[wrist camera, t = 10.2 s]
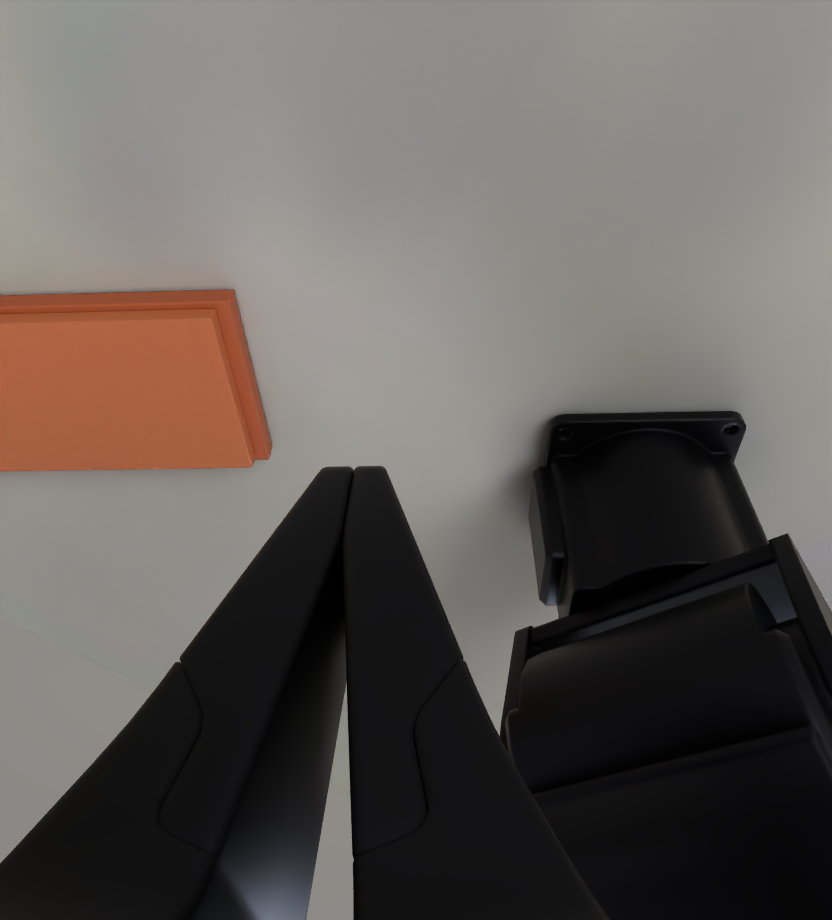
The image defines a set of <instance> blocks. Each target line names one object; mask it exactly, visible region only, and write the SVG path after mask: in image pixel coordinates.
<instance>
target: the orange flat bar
mask: <svg viewBox="0 0 832 920" xmlns="http://www.w3.org/2000/svg"><path fill="white" fill-rule="evenodd" d="M271 449H272V444H271V440H270V436H269V432H268V428H267V423H266V419H265V415H264V411H263V407H262V403H261V399H260V395H259V391H258V387H257V382H256V378H255V374H254V370H253V366H252V362H251V358H250V354H249V350H248V346H247V342H246V337H245V333H244V329H243V325H242V321H241V317H240V313H239V309H238V305H237V301H236V297H235V292H234V290H201V291H163V292H124V293H86V294H47V295H8V296H0V471H54V470H119V469H183V468H247V467H252V466H253V462H254V460H268V459H269V458H270V454H271Z"/></svg>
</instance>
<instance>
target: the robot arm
mask: <svg viewBox="0 0 832 920" xmlns="http://www.w3.org/2000/svg"><path fill="white" fill-rule="evenodd" d="M732 424H733V425H732ZM728 425H732V426H731V427H729V428H725V427H726V426H728ZM565 427H567V428H569V429H568V430H565V431H560V429H561V428H565ZM745 430H746V424H745V422H744V420H743V418H742V416H741V414H739V413H737V412H733V411H711V412H657V413H602V414H563V415H559V416H557V417H554V418H553V419H552V420H551V421H550V424H549V428H548V437H547V445H546V454H545V462H544V466H538V467H537V468H536V469H535V470H534V471H533V479H532V488H531V498H530V508H529V522H530V530H531V538H532V546H533V554H534V562H535V570H536V578H537V585H538V593H539V599H540V600H541V601H542V602H543V603H544V604H545V605H557V609H558V615H559V619H557V620H554V621H551V622H549V623H546V624H543V625H540V626H537V627H535V628H533V627H532V626H529V627H526V628H524V629H521V630H518V631H516V632H515V636H514V643H513V649H512V656H511V662H510V669H509V675H508V682H507V688H506V695H505V701H504V708H503V714H502V721H501V729H500V736H499V735H498V733H497V731H496V729H495V727H494V725H493V723H492V721H491V719H490V717H489V715H488V712H487V710H486V708H485V706H484V704H483V701H482V699H481V697H480V695H479V693H478V690H477V688H476V686H475V684H474V681H473V679H472V676H471V674H470V672H469V669H468V667H467V664H466V662H465V661H463V655H462V653H461V650H460V648H459V646H458V643H457V641H456V638H455V636H454V633H453V631H452V629H451V626H450V624H449V621H448V619H447V616H446V614H445V612H444V609H443V607H442V604H441V602H440V599H439V597H438V595H437V592H436V590H435V587H434V585H433V582H432V580H431V578H430V575H429V573H428V570H427V568H426V565H425V563H424V561H423V558H422V556H421V553H420V551H419V548H418V546H417V544H416V541H415V539H414V536H413V534H412V531H411V529H410V527H409V524H408V522H407V519H406V517H405V514H404V512H403V510H402V507H401V505H400V502H399V500H398V497H397V495H396V493H395V490H394V488H393V485H392V483H391V480H390V478H389V476H388V473H387V471H386V469H385V468H384V467H382V466H359V467H356V468H355V470H353V469H352V468H351V467H348V466H347V467H325V468H323V469H321V470H320V472H319V473H318V474H317V476H316V477H315V478H314V480H313V481H312V482H311V484H310V485H309V486H308V488H307V489H306V490H305V492H304V493H303V494H302V496H301V497H300V498H299V500H298V501H297V502H296V504H295V505H294V506H293V508H292V509H291V510H290V512H289V513H288V514H287V516H286V517H285V518H284V520H283V521H282V522H281V523H280V525H279V526H278V527H277V529H276V530H275V531H274V533H273V534H272V535H271V537H270V538H269V539H268V541H267V542H266V543H265V545H264V546H263V547H262V549H261V550H260V551H259V553H258V554H257V555H256V557H255V558H254V559H253V561H252V562H251V563H250V565H249V566H248V567H247V569H246V570H245V571H244V573H243V574H242V575H241V577H240V578H239V579H238V581H237V582H236V583H235V585H234V586H233V587H232V589H231V590H230V591H229V593H228V594H227V595H226V597H225V598H224V599H223V601H222V602H221V603H220V605H219V606H218V607H217V609H216V610H215V611H214V612H213V614H212V615H211V616H210V618H209V619H208V620H207V622H206V623H205V624H204V626H203V627H202V628H201V630H200V631H199V632H198V634H197V635H196V636H195V638H194V639H193V640H192V642H191V643H190V644H189V646H188V647H187V648H186V650H185V651H184V652H183V654H182V655H181V656H180V661H181V663H180V662H176V663H175V664H174V665H173V666H172V668H171V669H170V670H169V672H168V673H167V674H166V676H165V677H164V679H163V680H162V681H161V683H160V684H159V685H158V686H157V688H156V689H155V690H154V692H153V693H152V694H151V695H150V697H149V698H148V699H147V700H146V702H145V703H144V704H143V705H142V707H141V708H140V709H139V710H138V712H137V713H136V714H135V715H134V717H133V718H132V719H131V720H130V722H129V723H128V724H127V725H126V726H125V727H124V729H123V730H122V731H121V732H120V733H119V734H118V735H117V737H116V738H115V739H114V740H113V741H112V742H111V743H110V744H109V746H108V747H107V748H106V749H105V750H104V751H103V752H102V754H101V755H100V756H99V757H98V758H97V759H96V760H95V762H94V763H93V764H92V765H91V766H90V767H89V768H88V769H87V770H86V771H85V772H84V773H83V775H82V776H81V777H80V778H79V779H78V780H77V781H76V782H75V783H74V784H73V786H72V787H71V788H70V789H69V790H68V791H67V792H66V793H65V794H64V795H63V796H62V797H61V798H60V799H59V801H58V802H57V803H56V804H55V805H54V806H53V807H52V808H51V809H50V810H49V811H48V813H47V814H46V815H45V816H44V817H43V818H42V819H41V820H40V821H39V822H38V823H37V825H36V826H35V827H34V828H33V829H32V830H31V831H30V832H29V833H28V834H27V835H26V836H25V838H24V839H23V840H22V841H21V842H20V843H19V844H18V845H17V846H16V848H14V849H13V851H12V852H11V853H10V854H9V855H8V856H7V857H6V858H5V859H4V860H3V861H2V862H1V863H0V920H306V918H307V912H308V905H309V900H310V894H311V888H312V882H313V876H314V870H315V864H316V858H317V852H318V846H319V841H320V835H321V829H322V822H323V816H324V811H325V805H326V799H327V793H328V787H329V781H330V776H331V770H332V764H333V758H334V752H335V746H336V740H337V734H338V728H339V722H340V716H341V710H342V704H343V699H344V693H345V687H346V681H347V704H348V734H349V764H350V794H351V821H352V822H351V823H352V852H353V853H352V854H353V857H354V862H353V885H354V886H353V887H354V888H353V890H354V920H832V612H831V610H830V608H829V606H828V604H827V603H826V601H825V599H824V597H823V595H822V594H821V592H820V590H819V588H818V586H817V585H816V583H815V581H814V579H813V578H812V576H811V574H810V572H809V570H808V569H807V567H806V565H805V563H804V561H803V560H802V558H801V556H800V554H799V553H798V551H797V549H796V547H795V545H794V544H793V542H792V540H791V538H790V536H789V535H788V533H787V534H784V535H782V536H779V537H776V538H773V539H770V540H767V538H766V535H765V533H764V531H763V528H762V526H761V524H760V522H759V519H758V517H757V515H756V512H755V510H754V508H753V505H752V503H751V501H750V499H749V496H748V494H747V492H746V489H745V487H744V485H743V482H742V480H741V478H740V476H739V473H738V471H737V469H736V466H735V464H734V460H735V457H736V455H737V452H738V449H739V447H740V444H741V441H742V439H743V436H744V433H745ZM768 541H769V542H768Z"/></svg>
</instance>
